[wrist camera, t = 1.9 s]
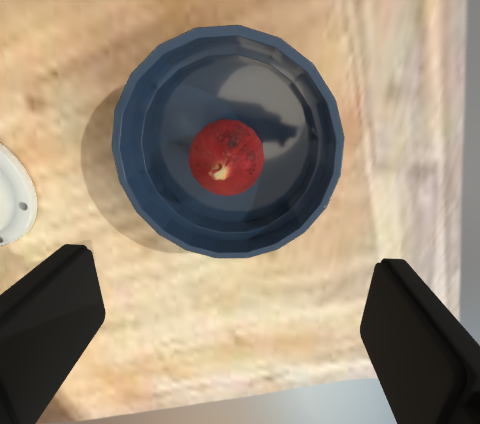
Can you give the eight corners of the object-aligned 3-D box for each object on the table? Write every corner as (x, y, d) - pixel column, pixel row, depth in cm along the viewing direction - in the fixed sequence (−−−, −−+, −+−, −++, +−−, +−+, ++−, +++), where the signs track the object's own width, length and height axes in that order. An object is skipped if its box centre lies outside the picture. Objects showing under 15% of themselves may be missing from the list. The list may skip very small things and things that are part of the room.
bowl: (128, 206, 29) (104, 228, 24) (152, 10, 22) (124, -12, 17) (289, 250, 29) (295, 279, 25) (360, 75, 23) (386, 71, 18)
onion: (218, 102, 24) (200, 106, 16) (275, 137, 25) (283, 156, 17) (188, 160, 26) (161, 188, 19) (242, 191, 27) (237, 228, 19)
